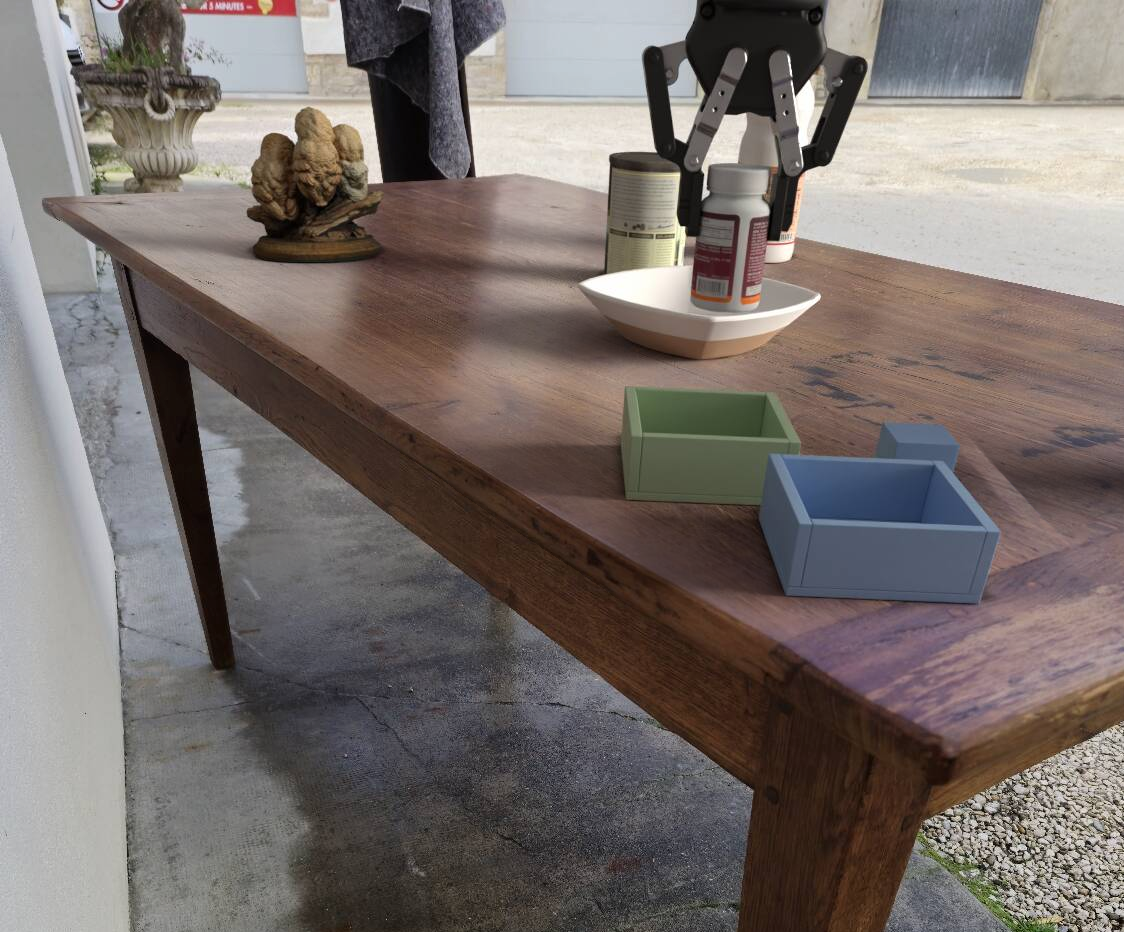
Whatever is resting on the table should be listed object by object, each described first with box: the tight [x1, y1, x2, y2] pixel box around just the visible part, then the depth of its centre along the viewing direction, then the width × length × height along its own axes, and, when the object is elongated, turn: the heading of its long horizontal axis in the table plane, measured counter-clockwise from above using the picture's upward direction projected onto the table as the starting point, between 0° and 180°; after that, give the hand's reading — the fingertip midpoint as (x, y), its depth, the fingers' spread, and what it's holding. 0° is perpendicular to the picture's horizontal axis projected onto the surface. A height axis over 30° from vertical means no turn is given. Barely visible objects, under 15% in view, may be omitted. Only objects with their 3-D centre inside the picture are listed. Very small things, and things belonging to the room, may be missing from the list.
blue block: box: [874, 421, 961, 474], centre depth 75 cm, size 4×4×4 cm
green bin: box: [620, 385, 802, 506], centre depth 77 cm, size 12×12×5 cm
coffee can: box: [603, 151, 687, 275], centre depth 130 cm, size 10×10×14 cm
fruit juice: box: [737, 78, 816, 264], centre depth 143 cm, size 9×9×28 cm
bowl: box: [577, 264, 821, 360], centre depth 108 cm, size 22×22×5 cm
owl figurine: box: [246, 106, 385, 263], centre depth 135 cm, size 18×12×17 cm, turn 112°
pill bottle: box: [690, 162, 771, 313], centre depth 69 cm, size 5×5×8 cm
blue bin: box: [758, 454, 1002, 605], centre depth 65 cm, size 12×12×5 cm
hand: (732, 235), depth 69 cm, fingers closed on pill bottle, 4 cm apart
